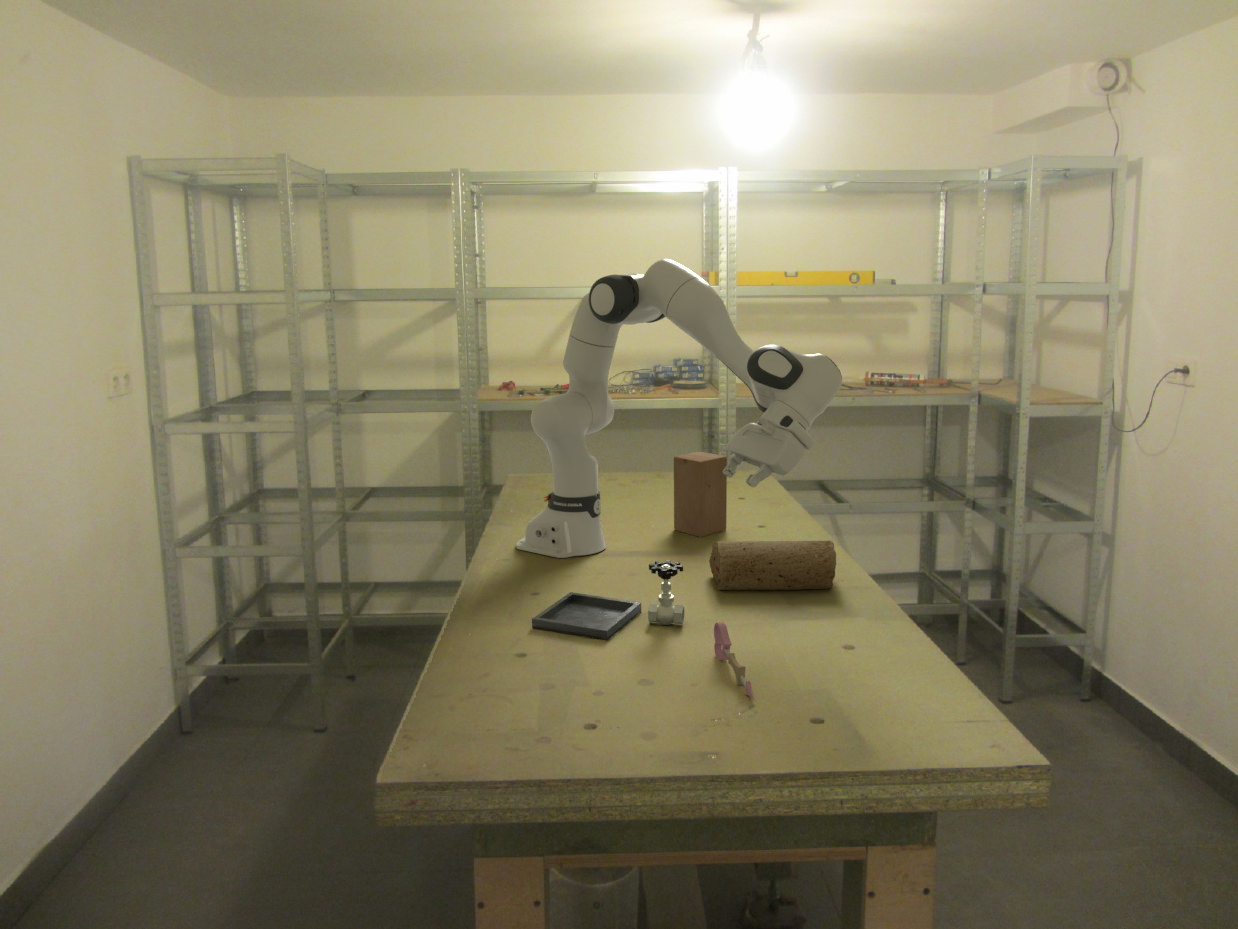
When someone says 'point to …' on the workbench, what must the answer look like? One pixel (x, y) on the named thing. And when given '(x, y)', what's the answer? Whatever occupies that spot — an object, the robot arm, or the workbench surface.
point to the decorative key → (729, 656)
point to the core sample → (773, 565)
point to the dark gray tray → (587, 616)
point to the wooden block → (700, 493)
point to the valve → (666, 595)
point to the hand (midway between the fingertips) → (737, 480)
